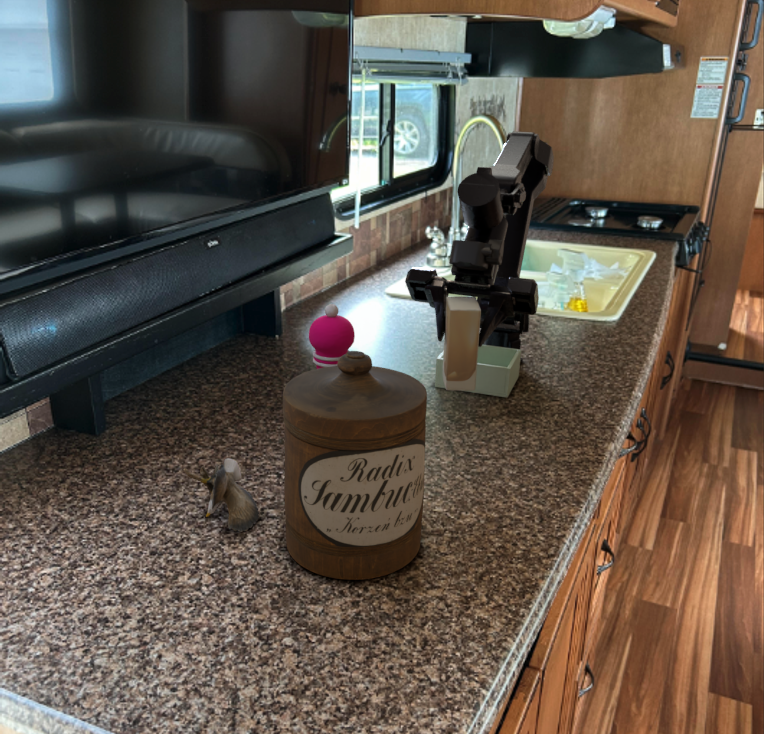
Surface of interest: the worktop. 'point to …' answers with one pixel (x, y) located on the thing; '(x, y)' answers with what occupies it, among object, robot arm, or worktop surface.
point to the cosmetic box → (461, 343)
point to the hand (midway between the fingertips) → (458, 342)
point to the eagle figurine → (229, 495)
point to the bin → (490, 370)
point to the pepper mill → (330, 337)
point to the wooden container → (354, 468)
